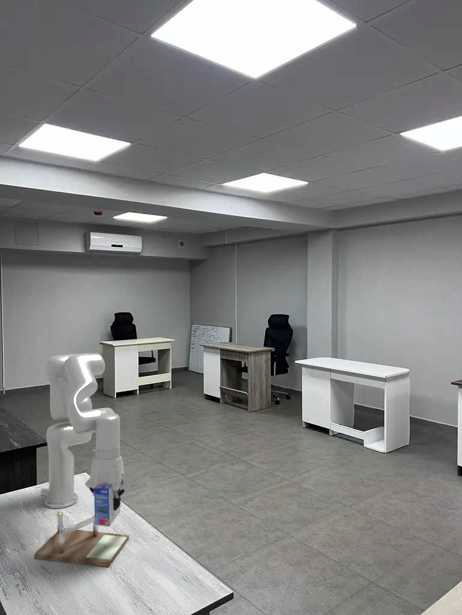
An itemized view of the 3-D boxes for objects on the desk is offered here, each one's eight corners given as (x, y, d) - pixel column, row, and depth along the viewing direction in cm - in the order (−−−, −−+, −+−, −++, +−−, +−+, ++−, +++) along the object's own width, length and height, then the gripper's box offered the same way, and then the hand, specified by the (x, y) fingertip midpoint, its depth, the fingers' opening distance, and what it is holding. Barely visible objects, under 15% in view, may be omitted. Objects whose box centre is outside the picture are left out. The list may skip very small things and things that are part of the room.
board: (34, 558, 146) (34, 552, 146) (61, 532, 161) (61, 526, 161) (109, 567, 142) (109, 561, 142) (128, 539, 157) (128, 534, 157)
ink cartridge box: (104, 510, 154) (105, 468, 154) (120, 512, 154) (121, 469, 153) (93, 525, 145) (93, 480, 144) (110, 527, 144) (110, 481, 143)
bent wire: (37, 550, 147) (37, 529, 147) (58, 530, 160) (58, 510, 160) (81, 555, 145) (81, 534, 144) (99, 534, 157) (99, 514, 157)
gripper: (77, 454, 146) (77, 510, 147) (128, 458, 143) (128, 515, 144) (88, 446, 153) (88, 500, 154) (137, 450, 151) (136, 504, 151)
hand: (107, 507), depth 149 cm, fingers closed on ink cartridge box, 5 cm apart
